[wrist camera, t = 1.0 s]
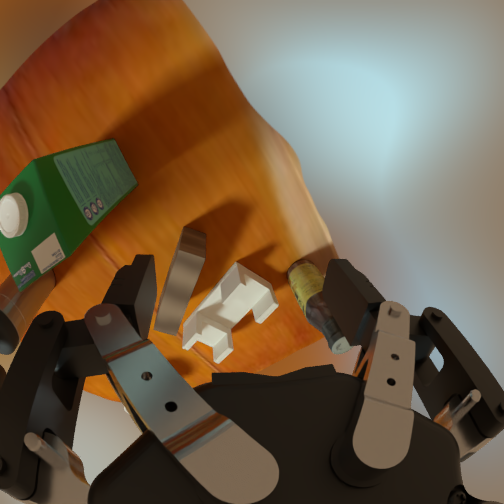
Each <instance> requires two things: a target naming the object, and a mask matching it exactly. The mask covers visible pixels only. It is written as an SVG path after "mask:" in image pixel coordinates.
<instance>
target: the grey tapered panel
mask: <svg viewBox="0 0 504 504" xmlns="http://www.w3.org/2000/svg"><path fill="white" fill-rule="evenodd" d="M205 259H206V234H205V233H202V232H199V231H196V230H193V229H190V228H187V227H183V230H182V233H181V236H180V239H179V241H178V244H177V247H176V250H175V253H174V256H173V259H172V262H171V265H170V268H169V271H168V274H167V277H166V281H165V284H164V287H163V290H162V294H161V297H160V301H159V305H158V310H157V315H156V320H155V325H154V330H156V331H160V332H163V333H167V334H171V335H174V336H176V334H177V332H178V329H179V326H180V324H181V321H182V318H183V316H184V313H185V310H186V308H187V305H188V302H189V300H190V297H191V295H192V292H193V289H194V287H195V284H196V282H197V279H198V277H199V274H200V272H201V269H202V267H203V264H204V262H205Z"/></svg>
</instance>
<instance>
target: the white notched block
mask: <svg viewBox="0 0 504 504" xmlns="http://www.w3.org/2000/svg"><path fill="white" fill-rule="evenodd" d="M278 306H279V304H278V301H277V299H276V296H275V293H274V291H273V288H272V285H271V283H269V282H268V281H266V280H265V279H263V278H261V277H260V276H258V275H257V274H255V273H254V272H252V271H250V270H249V269H247V268H246V267H244V266H243V265H241V264H239V263H238V262H235V263H234V264H233V265H232V266H231V268H230V269H229V270H228V271H227V272H226V274H225V275H224V276H223V277H222V278H221V280H220V281H219V282H218V283H217V284H216V285H215V287H214V288H213V289H212V290H211V291H210V293H209V294H208V295H207V296H206V297H205V299H204V300H203V301H202V302H201V303H200V304H199V306H198V307H197V308H196V309H195V310H194V312H193V313H192V314H191V315H190V316H189V318H188V319H187V320H186V321H185V322H184V324H183V327H184V330H183V346H182V348H184V349H186V350H189V349H190V348H191V346H192V345H193V344H194V343H195V342H196V341H197V340H198V341H200V342H202V343H204V344H206V345H209V346H211V347H213V357H214V362H216V363H220V362H221V361H222V360H223V359H224V358H225V357H226V356H227V355H229V354H230V353H231V352H232V351H233V350H234V349H233V342H232V335H231V329H232V328H233V327H234V326H235V325H236V324H237V323H238V322H239V321H240V320H241V319H242V318H243V317H244V316H245V315H246V313H247V312H248V311H249V310H250V309H251V308H252V310H253V314H254V318H255V321H256V322H258V323H260V324H261V323H262V322H263V321H264V320H265V319H266V318H267V317H268V316H269V315H270V314H271V313H272V312H273V311H274V310H275V309H276V308H277V307H278Z"/></svg>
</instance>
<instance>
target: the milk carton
mask: <svg viewBox="0 0 504 504" xmlns="http://www.w3.org/2000/svg"><path fill="white" fill-rule="evenodd" d="M136 186H138V183H137V181H136V179H135V177H134V176H133V174H132V172H131V170H130V168H129V166H128V164H127V162H126V161H125V159H124V157H123V155H122V153H121V151H120V149H119V147H118V145H117V143H116V141H115V139H114V138H112V139H108V140H103V141H98V142H94V143H90V144H86V145H82V146H78V147H74V148H70V149H66V150H63V151H59V152H56V153H53V154H49V155H46V156H43V157H40V158H37V159H34V160H32V161H31V162H30V163H29V164H28V165H27V166H26V167H25V168H24V169H23V170H22V171H21V173H20V174H19V175H18V176H17V177H16V178H15V179H14V180H13V181H12V182H11V183H10V185H9V186H8V187H7V188H6V189H5V190H4V191H3V193H2V194H1V195H0V248H1V251H2V253H3V256H4V258H5V261H6V263H7V265H8V268H9V270H10V272H11V275H12V277H13V279H14V281H15V283H16V285H17V287H18V289H19V291H20V292H22V291H23V290H24V289H26V288H27V287H28V286H29V285H31V284H32V283H33V282H35V281H36V280H37V279H39V278H40V277H41V276H43V275H44V274H46V273H47V272H48V271H50V270H51V269H52V268H54V267H55V266H57V265H58V264H60V263H61V262H62V261H64V260H65V259H67V258H68V257H70V256H71V255H72V254H73V252H74V251H75V250H76V249H77V248H78V247H79V245H80V244H81V243H82V242H83V241H84V240H85V239H86V237H87V236H88V235H89V234H90V233H91V232H92V231H93V230H94V229H95V228H96V227H97V225H98V224H99V223H100V222H101V221H102V220H103V219H104V218H105V217H106V216H107V215H108V214H109V213H110V212H111V211H112V210H113V209H114V208H115V207H116V206H117V205H118V204H119V203H120V202H121V201H122V200H123V199H124V198H125V197H126V196H127V195H128V194H129V193H130V192H131V191H132V190H133V189H134V188H135V187H136Z"/></svg>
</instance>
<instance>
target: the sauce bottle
mask: <svg viewBox="0 0 504 504" xmlns="http://www.w3.org/2000/svg"><path fill="white" fill-rule="evenodd" d="M287 279H288V282H289V285H290V287H291V289H292V291H293V293H294V295H295V297H296V299H297V301H298V303H299V305H300V307H301V309H302V311H303V313H304V315H305V317H306V319H307V321H308V322H309V323H310V324H311V325H313V326H314V327H315V328H317V329H318V330H319V331H320V332H322V333H323V335H324V336H325V338H326V340H327V341H328V346H329V348H330V349H331V351H332V352H333V353H334V354H342V353H345V352H347V351H349V350H350V349H351V348H352V347H353V346H350V345H349V343H348V342H347V340H346V338H345V336H344V334H343V333H342V331H341V329H340V327H339V325H338V324H337V322H336V320H335V318H334V317H333V315H332V313H331V311H330V310H329V308H328V306H327V305H326V303H325V301H324V299H323V296H322V288H323V284H324V280H325V278H324V277H323V275H322V274H321V273H320V271H319V270H318V268H317V267H316V266H315V265H314V264H313V263H312V262H310V261H307V260H301V261H298V262H295V263H294V264H292V266H291V267H290V268H289V270H288V272H287Z"/></svg>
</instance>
